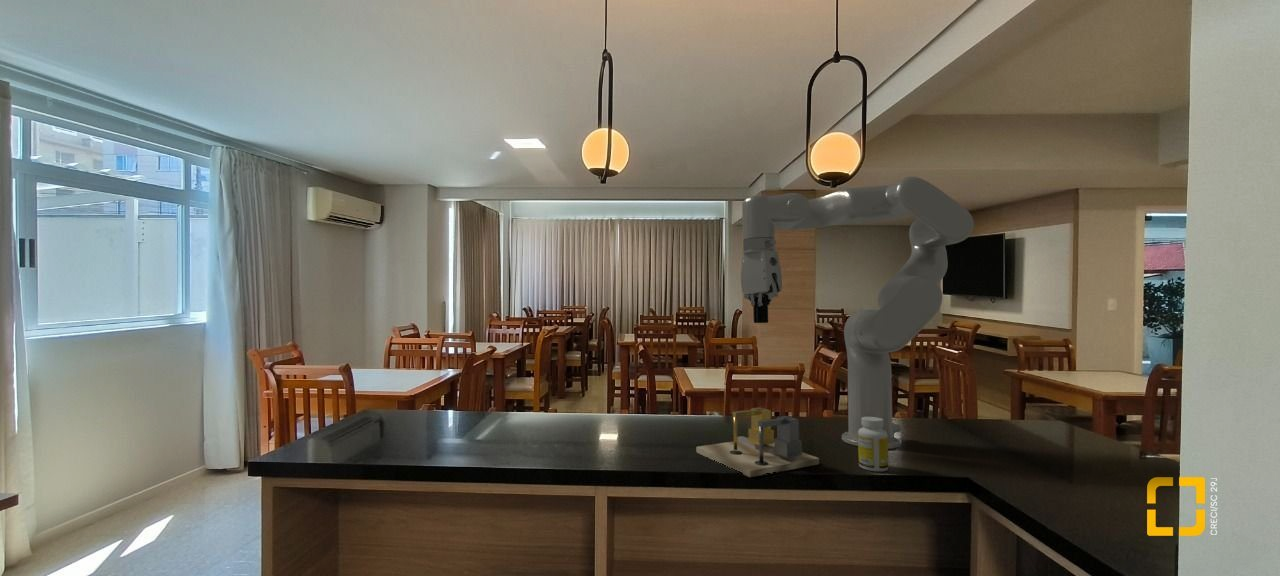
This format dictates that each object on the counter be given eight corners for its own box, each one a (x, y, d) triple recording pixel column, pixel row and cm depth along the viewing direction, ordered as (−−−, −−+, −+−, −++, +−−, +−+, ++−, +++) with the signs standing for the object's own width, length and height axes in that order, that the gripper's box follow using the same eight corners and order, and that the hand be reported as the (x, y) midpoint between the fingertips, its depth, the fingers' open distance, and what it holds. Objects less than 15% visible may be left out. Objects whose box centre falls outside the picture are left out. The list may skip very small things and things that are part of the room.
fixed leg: (789, 454, 102) (788, 415, 102) (801, 458, 98) (801, 418, 99) (753, 460, 97) (753, 419, 98) (766, 465, 94) (765, 423, 95)
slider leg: (762, 442, 109) (762, 407, 109) (773, 446, 106) (773, 410, 106) (728, 447, 105) (728, 410, 105) (739, 451, 101) (739, 414, 102)
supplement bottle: (885, 465, 99) (884, 416, 100) (891, 473, 94) (890, 422, 95) (856, 462, 101) (855, 415, 101) (860, 471, 96) (860, 420, 96)
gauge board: (759, 442, 116) (759, 433, 116) (819, 464, 100) (818, 453, 100) (696, 452, 107) (696, 442, 108) (749, 477, 91) (749, 465, 92)
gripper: (793, 244, 114) (795, 323, 113) (750, 251, 127) (752, 322, 126) (768, 242, 110) (770, 323, 109) (727, 250, 123) (729, 322, 123)
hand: (761, 322), depth 118 cm, fingers closed
